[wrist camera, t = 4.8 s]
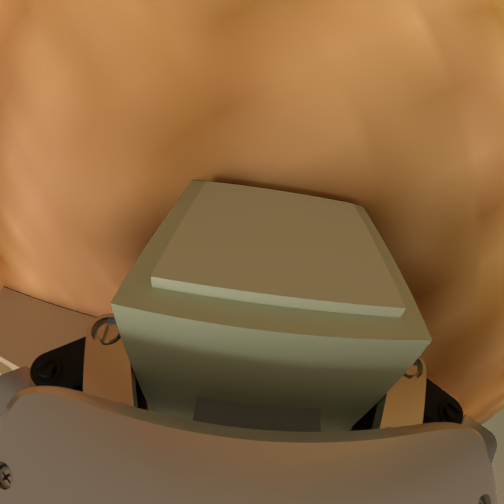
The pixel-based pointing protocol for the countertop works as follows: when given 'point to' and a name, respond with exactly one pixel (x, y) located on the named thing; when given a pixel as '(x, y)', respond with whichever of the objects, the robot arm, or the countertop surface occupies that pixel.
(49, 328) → the beige slab with panel
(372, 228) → the cabinet box
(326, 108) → the countertop surface
